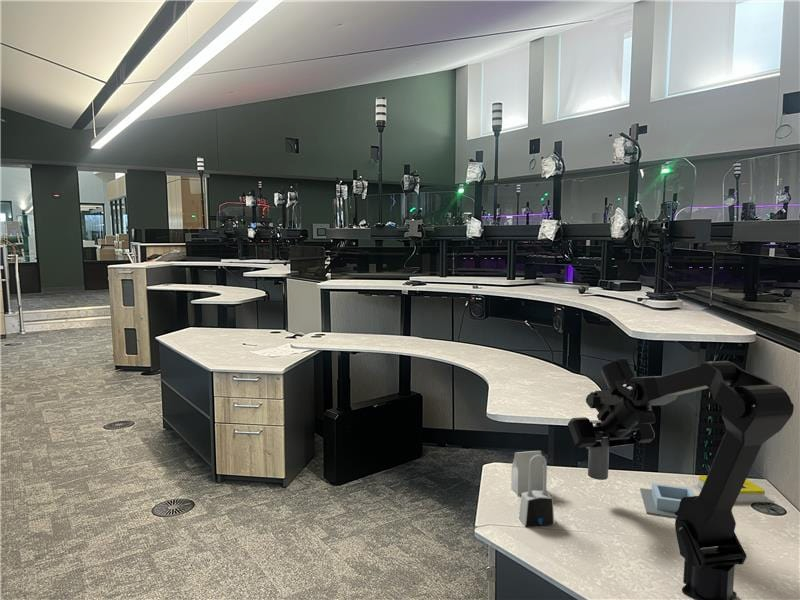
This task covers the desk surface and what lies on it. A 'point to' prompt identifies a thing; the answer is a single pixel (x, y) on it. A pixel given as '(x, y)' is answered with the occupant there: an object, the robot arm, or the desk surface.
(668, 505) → the dock
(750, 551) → the desk surface
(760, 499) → the emergency button
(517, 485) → the grey chamfered block
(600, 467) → the plug
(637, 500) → the desk surface
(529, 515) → the padlock
